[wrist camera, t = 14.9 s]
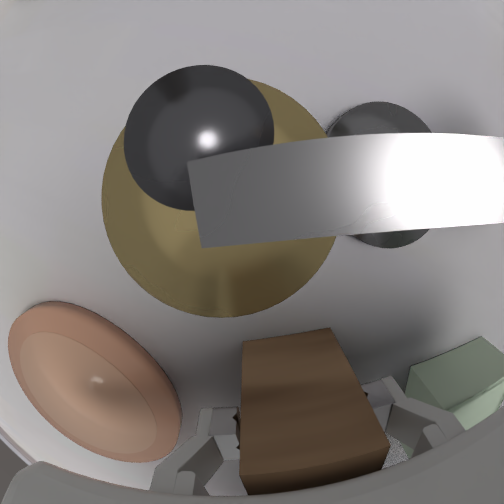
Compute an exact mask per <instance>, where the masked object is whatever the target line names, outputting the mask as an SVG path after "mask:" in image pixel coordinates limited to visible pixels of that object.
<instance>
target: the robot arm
mask: <svg viewBox="0 0 504 504" xmlns="http://www.w3.org/2000/svg"><path fill="white" fill-rule="evenodd" d="M361 387H362V389H363V391H364V393H365V395H366V397H367V399H368V401H369V403H370V405H371V407H372V409H373V411H374V413H375V415H376V417H377V419H378V421H379V423H380V425H381V427H382V429H383V431H384V432H385V431H386V433H387V434H389V435H391V436H392V437H394V438H395V439H397V440H399V441H400V442H402V443H403V444H405V445H407V446H408V447H410V448H412V449H413V450H414V451H413V453H412V455H411V457H410V459H408V460H406V461H403V462H401V463H398V464H395V465H393V466H390V467H387V468H385V469H382V470H379V471H376V472H373V473H370V474H366V475H363V476H360V477H356V478H353V479H349V480H345V481H341V482H337V483H333V484H329V485H324V486H319V487H314V488H308V489H303V490H296V491H290V492H282V493H273V494H262V495H248V496H210V495H209V493H208V492H207V491H206V489H205V488H204V486H205V485H206V483H207V482H208V481H209V480H210V478H211V477H212V476H213V475H214V473H215V472H216V471H217V470H218V468H219V467H220V466H221V465H222V463H223V462H224V460H239V459H240V423H241V418H240V411H239V407H238V406H237V407H216V408H202V409H201V410H200V414H199V419H198V425H197V430H196V435H195V436H192V437H191V438H189V439H188V440H187V441H186V442H185V443H184V444H183V445H182V446H181V447H179V448H178V449H177V450H176V451H175V452H174V453H173V454H171V455H170V456H169V457H168V458H167V459H165V460H164V461H163V462H162V463H161V464H160V465H158V466H157V467H156V468H155V472H154V475H153V479H152V482H151V486H150V490H142V489H137V488H131V487H126V486H122V485H117V484H113V483H109V482H105V481H101V480H97V479H94V478H90V477H87V476H84V475H80V474H77V473H74V472H71V471H68V470H66V469H63V468H60V467H57V466H55V465H52V464H50V463H47V462H44V461H39V462H36V463H34V464H32V465H30V466H28V467H26V468H24V469H22V470H20V471H19V472H17V474H16V475H15V476H14V478H13V480H12V482H11V483H10V485H9V487H8V489H7V492H6V494H5V496H4V498H3V501H2V503H1V504H504V406H502V407H501V408H500V409H498V410H497V411H495V412H494V413H493V414H491V415H490V416H488V417H487V418H485V419H484V420H482V421H481V422H479V423H478V424H476V425H474V426H473V427H471V428H469V429H468V430H465V429H464V427H463V426H462V425H461V423H460V422H459V421H458V419H457V418H456V417H455V415H454V414H453V413H451V412H448V411H445V410H442V409H440V408H437V407H434V406H432V405H429V404H426V403H424V402H421V401H418V400H416V399H413V398H411V397H410V398H407V397H406V395H405V394H404V393H403V391H402V390H401V388H400V387H399V385H398V384H397V382H396V381H395V380H394V378H393V377H392V376H388V377H385V378H382V379H379V380H375V381H372V382H369V383H365V384H361Z"/></svg>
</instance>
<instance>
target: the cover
mask: <svg viewBox="0 0 504 504" xmlns="http://www.w3.org/2000/svg"><path fill="white" fill-rule="evenodd" d="M405 395H406V397H407V398H410V397H411V398H413V399H416V400H418V401H421V402H424V403H426V404H429V405H432V406H434V407H437V408H440V409H442V410H445V411H448V412H451V413H453V414H454V415H455V417H456V418H457V419H458V421H459V422H460V423H461V425H462V426H463V427H464V429H465V430H468V429H469V428H471V427H473V426H474V425H476V424H478V423H479V422H481V421H482V420H484V419H485V418H487V417H488V416H490V415H491V414H493V413H494V412H495V411H497V410H498V409H499V407H500V405H501V403H502V401H503V399H504V354H503V353H502V352H501V351H499V350H498V349H497V348H496V347H494V346H493V345H492V344H491V343H489V342H488V341H487V340H486V339H484V338H483V337H482V336H481V337H479V338H477V339H475V340H473V341H471V342H469V343H467V344H465V345H463V346H460V347H458V348H456V349H454V350H451V351H449V352H447V353H444V354H442V355H440V356H437V357H435V358H432V359H430V360H427V361H424V362H422V363H419V364H416V365H413V366H411V367H410V371H409V376H408V381H407V385H406V390H405ZM400 443H401V444H402V446H403V448H404V450H405V452H406V454H407V456H408V458H409V459H410V457H411V455H412V453H413V451H414V450H413V449H412V448H410V447H408V446H407V445H405V444H403V443H402V442H400Z"/></svg>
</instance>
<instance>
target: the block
mask: <svg viewBox="0 0 504 504" xmlns="http://www.w3.org/2000/svg"><path fill="white" fill-rule="evenodd" d="M390 446H391V445H390V443H389V441H388V439H387V437H386V435H385V433H384V431H383V429H382V427H381V425H380V423H379V421H378V419H377V417H376V415H375V413H374V411H373V409H372V407H371V405H370V403H369V401H368V399H367V397H366V395H365V393H364V391H363V389H362V387H361V385H360V383H359V381H358V379H357V377H356V375H355V373H354V372H353V370H352V368H351V366H350V364H349V362H348V360H347V358H346V356H345V354H344V353H343V351H342V349H341V347H340V345H339V343H338V341H337V340H336V338H335V336H334V334H333V332H332V330H331V328H330V327H329V328H324V329H319V330H314V331H308V332H303V333H297V334H291V335H285V336H278V337H271V338H265V339H257V340H250V341H243V349H242V384H241V423H240V466H239V476H240V478H241V480H242V482H243V485H244V487H245V489H246V491H247V493H248V495H262V494H273V493H282V492H290V491H296V490H303V489H308V488H314V487H319V486H324V485H329V484H333V483H337V482H341V481H345V480H349V479H353V478H356V477H360V476H363V475H366V474H370V473H373V472H376V471H379V470H381V469H382V467H383V464H384V462H385V459H386V456H387V454H388V451H389V448H390Z"/></svg>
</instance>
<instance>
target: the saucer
mask: <svg viewBox="0 0 504 504" xmlns="http://www.w3.org/2000/svg"><path fill="white" fill-rule="evenodd" d="M8 350H9V357H10V361H11V365H12V368H13V371H14V374H15V376H16V378H17V380H18V382H19V384H20V386H21V388H22V390H23V391H24V393H25V395H26V396H27V398H28V399H29V400H30V402H31V403H32V404H33V406H34V407H35V408H36V409H37V411H38V412H39V413H40V414H41V415H42V416H43V417H44V418H45V419H46V420H47V421H48V422H49V423H50V424H51V425H52V426H53V427H55V428H56V429H57V430H58V431H59V432H61V433H62V434H63V435H65V436H66V437H67V438H69V439H70V440H72V441H73V442H75V443H77V444H78V445H80V446H82V447H84V448H86V449H88V450H90V451H92V452H94V453H96V454H99V455H102V456H104V457H108V458H111V459H115V460H119V461H125V462H136V463H141V462H150V461H155V460H158V459H160V458H163V457H164V456H166V455H168V454H169V453H170V452H171V451H172V450H173V448H174V447H175V445H176V443H177V439H178V435H179V431H180V427H181V423H182V410H181V404H180V401H179V398H178V395H177V393H176V391H175V389H174V387H173V385H172V383H171V382H170V380H169V379H168V377H167V376H166V374H165V372H164V371H163V370H162V369H161V367H160V366H159V365H158V364H157V362H156V361H155V360H154V359H153V358H152V357H151V356H150V355H149V354H148V353H147V351H146V350H145V349H144V348H142V347H141V346H140V345H139V344H138V343H137V342H136V341H135V340H134V339H133V338H131V337H130V336H129V335H127V334H126V333H125V332H124V331H122V330H121V329H120V328H118V327H117V326H115V325H114V324H112V323H111V322H109V321H108V320H106V319H105V318H103V317H101V316H99V315H97V314H96V313H94V312H91V311H89V310H87V309H85V308H82V307H80V306H76V305H73V304H70V303H65V302H59V301H49V302H44V303H40V304H38V305H35V306H33V307H32V308H30V309H29V310H28V311H26V312H25V313H23V314H22V315H21V316H19V317H18V318H17V319H16V320H15V321H14V323H13V324H12V327H11V329H10V332H9V337H8Z"/></svg>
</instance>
